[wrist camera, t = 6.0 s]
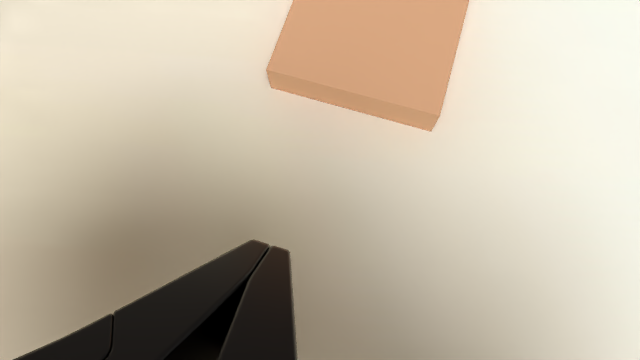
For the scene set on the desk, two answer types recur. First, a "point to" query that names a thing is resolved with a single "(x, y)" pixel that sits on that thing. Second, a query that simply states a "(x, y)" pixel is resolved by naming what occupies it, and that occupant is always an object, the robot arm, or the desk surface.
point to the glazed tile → (370, 55)
